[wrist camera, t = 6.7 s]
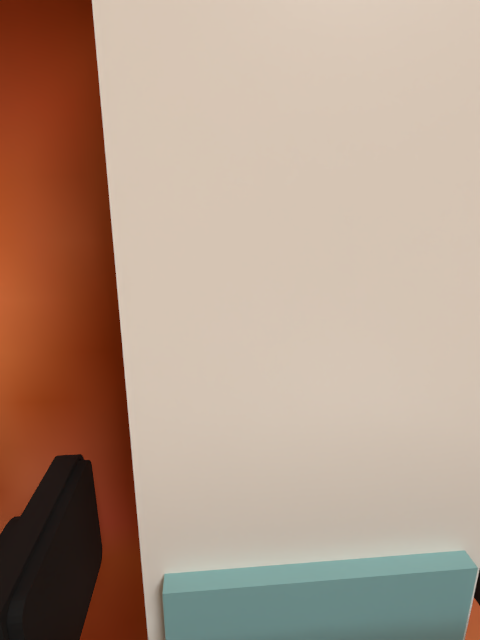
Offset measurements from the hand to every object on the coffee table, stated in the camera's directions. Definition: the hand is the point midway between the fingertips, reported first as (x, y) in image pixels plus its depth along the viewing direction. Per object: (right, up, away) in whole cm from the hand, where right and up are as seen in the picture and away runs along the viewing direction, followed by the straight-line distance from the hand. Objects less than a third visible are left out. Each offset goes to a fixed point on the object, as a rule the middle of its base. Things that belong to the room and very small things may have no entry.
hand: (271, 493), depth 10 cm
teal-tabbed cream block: (0, +6, 0) cm, 6 cm away
